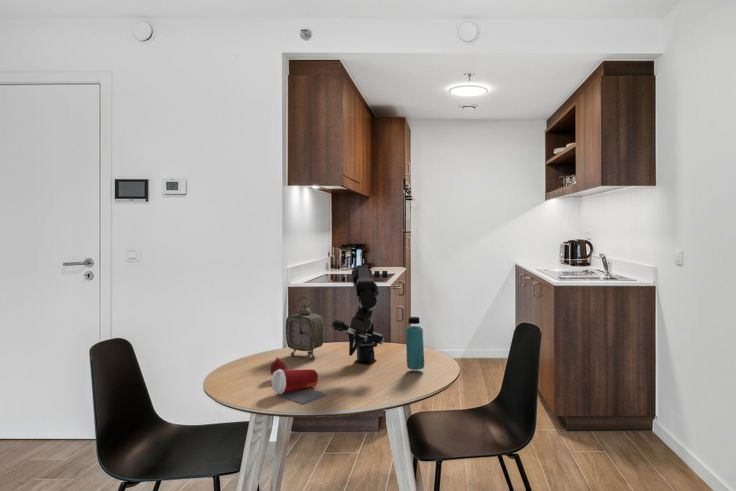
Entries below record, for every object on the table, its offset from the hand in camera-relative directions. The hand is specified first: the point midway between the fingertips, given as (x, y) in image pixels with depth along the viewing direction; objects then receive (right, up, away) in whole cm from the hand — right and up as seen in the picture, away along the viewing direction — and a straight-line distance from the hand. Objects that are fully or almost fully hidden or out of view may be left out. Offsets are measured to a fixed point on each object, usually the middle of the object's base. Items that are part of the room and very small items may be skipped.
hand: (350, 355), depth 164 cm
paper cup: (-12, -6, -7) cm, 15 cm away
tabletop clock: (-19, -8, +31) cm, 37 cm away
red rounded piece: (-25, -9, +2) cm, 27 cm away
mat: (-15, -9, -15) cm, 23 cm away
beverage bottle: (+24, -8, +7) cm, 26 cm away
